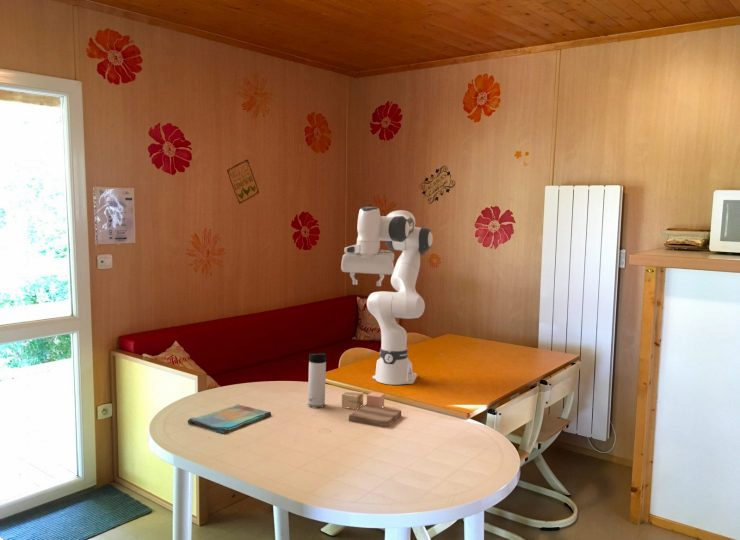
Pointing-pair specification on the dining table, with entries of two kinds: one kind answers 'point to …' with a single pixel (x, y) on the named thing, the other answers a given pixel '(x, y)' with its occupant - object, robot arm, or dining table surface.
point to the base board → (375, 415)
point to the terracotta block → (375, 399)
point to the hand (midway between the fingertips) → (366, 285)
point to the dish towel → (229, 418)
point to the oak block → (352, 399)
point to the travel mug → (317, 380)
